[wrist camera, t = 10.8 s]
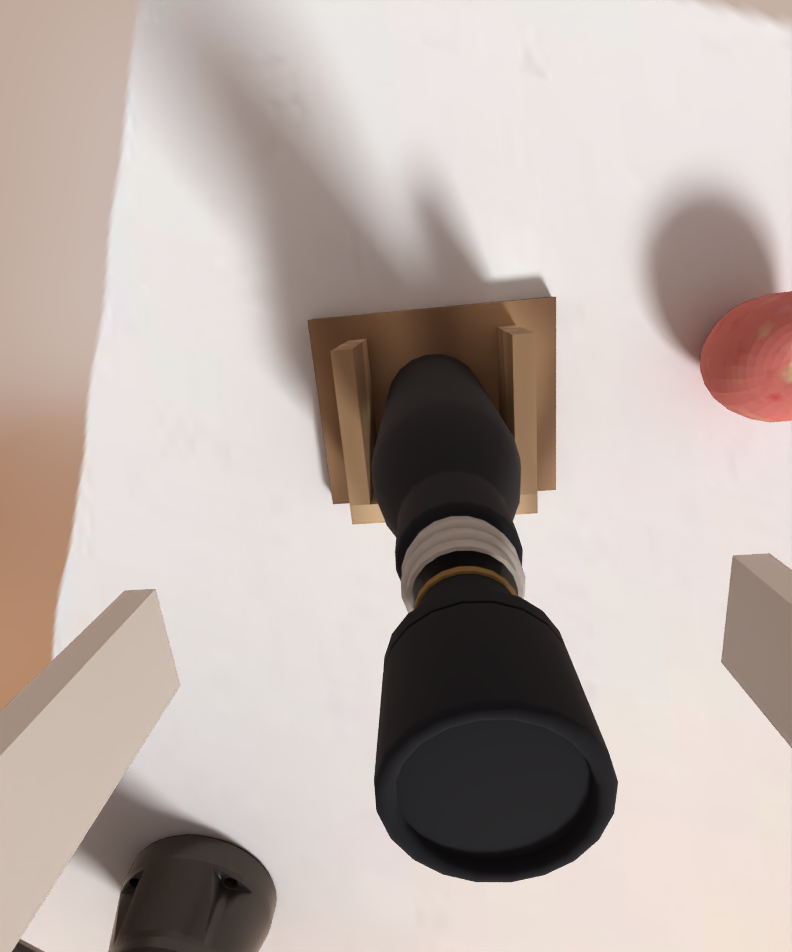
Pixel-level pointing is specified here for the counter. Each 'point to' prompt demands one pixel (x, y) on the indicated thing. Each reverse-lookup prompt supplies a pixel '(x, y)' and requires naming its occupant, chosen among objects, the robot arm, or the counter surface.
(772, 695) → the robot arm
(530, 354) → the u rest
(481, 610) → the wine bottle
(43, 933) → the counter surface
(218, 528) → the counter surface
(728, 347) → the apple
